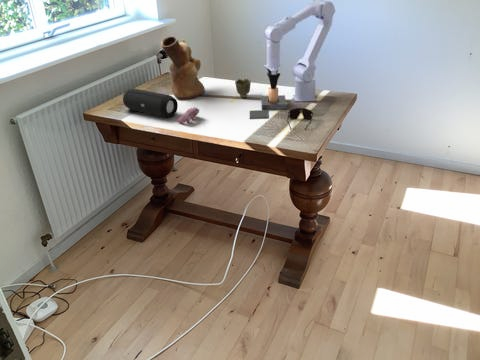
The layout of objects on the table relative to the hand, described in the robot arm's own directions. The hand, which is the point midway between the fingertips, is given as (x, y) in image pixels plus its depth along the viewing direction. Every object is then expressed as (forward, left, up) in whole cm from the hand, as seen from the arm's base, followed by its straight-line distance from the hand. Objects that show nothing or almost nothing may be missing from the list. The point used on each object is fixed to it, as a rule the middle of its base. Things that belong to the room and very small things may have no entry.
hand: (273, 85), depth 198 cm
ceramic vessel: (+43, -16, -10) cm, 47 cm away
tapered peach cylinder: (0, 0, -10) cm, 10 cm away
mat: (+7, +11, -10) cm, 16 cm away
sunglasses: (-10, +21, -10) cm, 26 cm away
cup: (+14, -12, -10) cm, 21 cm away
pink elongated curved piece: (+37, +14, -10) cm, 41 cm away
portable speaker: (+56, +3, -10) cm, 57 cm away
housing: (0, 0, -10) cm, 10 cm away
